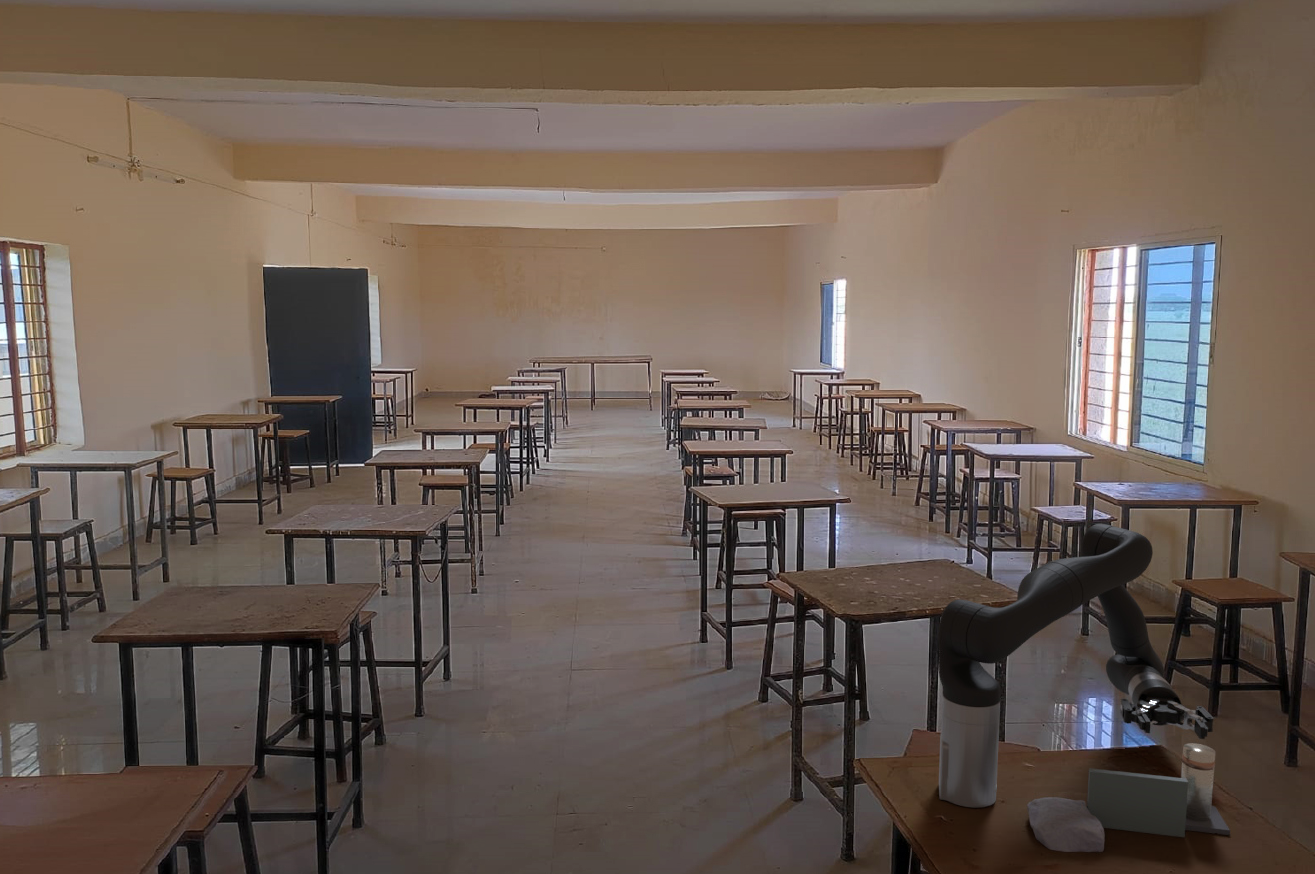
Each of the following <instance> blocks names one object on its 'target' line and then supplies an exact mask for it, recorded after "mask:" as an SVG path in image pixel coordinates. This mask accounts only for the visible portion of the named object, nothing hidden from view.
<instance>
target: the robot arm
mask: <svg viewBox="0 0 1315 874" xmlns="http://www.w3.org/2000/svg"><path fill="white" fill-rule="evenodd" d="M1080 555H1081V556H1078V557H1077V556H1075V557H1066V558H1059V559H1055V560H1051V561H1048V562H1047V563H1044V564H1043V565H1040V566H1039V567H1036V568H1035V569H1033V570H1032V571H1030V572H1029V573H1027V574H1026V575H1025V576H1024V577H1023V578H1022V579H1021V581H1020V583H1019V586H1018V590H1017V600H1016V601H1014V602H1012V603H1010V604H1008V605H1006V606H1002V607H992V606H989V605H985V604H981V603H978V602H974V601H971V600H966V599H960V598H959V599H955V600H952V601H951V602H949V603H948V604H947V605H946V606H945V607H944V610H943V611H942V613H941V616H940V620H939V624H938V625H939V626H938V633H937V634H938V638H937V639H938V641H937V642H938V643H937V644H938V646H937V647H938V648H937V649H938V675H939V676H938V677H939V680H940V683H941V686H942V700H941V702H942V703H941V729H940V730H941V731H940V737H939V739H940V740H939V764H938V765H939V766H938V795H939V800H942V801H947V802H949V803H952V804H954V805H957V806H960V807H966V808H977V809H978V808H986V807H990V806H992V805H994V804H995V802H997V801H996V800H997V790H998V786H997V784H998V781H997V780H998V761H999V760H998V759H999V758H998V757H999V735H1000V714H1001V713H1000V712H1001V686H1000V683H999V682H998V680H996V678H994V677H993V676H992V675H991V674H990V673H989V672H988V671H987V670H986V669H985V668H984V667H983V665H982V664H988V665H989V664H991V665H992V664H998V663H999V662H1001V661H1003V660H1005V659H1006V658H1007V657H1009V656H1010V655H1012V653H1014V652H1015V651H1016V650H1018V649H1019V648H1020V647H1022V645H1023V644H1025V643H1026V642H1027V641H1028V640H1030V638H1032V637H1033V636H1034V635H1036V634H1038V633H1039V632H1041V631H1042V630H1043V629H1045V628H1046V627H1048V626H1050V625H1051V624H1052V623H1054V622H1056V621H1058V620H1060V619H1062V618H1063V617H1065V616H1067V615H1069V614H1070V613H1072V612H1073V611H1075V610H1078V608H1080V607H1082V605H1085V604H1086V603H1088V602H1089V601H1091V600H1093V599H1095V598H1097V599H1098V600H1099V602H1100V605H1101V607H1102V610H1103V613H1104V616H1105V621H1106V625H1107V630H1108V636H1109V641H1110V645H1111V648H1112V649H1113V651H1114V652H1115V653H1116V654H1114V655H1112V656H1110V657H1109V658H1108V660H1107V661H1106V664H1105V671H1106V675H1107V678H1108V679H1109V681H1110V683H1111V684H1112V685H1113V686H1114V688H1116V689H1117V690H1118V691H1120V692H1121V693H1123V694H1126V695H1127V696H1129V698H1130V701H1129V699H1126V698H1121V699H1120V710H1119V711H1120V715H1121V718H1122V720H1123V722H1124V723H1125V724H1128V725H1129V724H1132V723H1135V725H1136V726H1138V728H1139V730H1142V731H1143V732H1144V734H1150V733H1151V725H1154V726H1159V727H1160V726H1167V725H1171V726H1175V727H1178V728H1180V729H1183V730H1191V731H1194V734H1196V736H1197V737H1198V739H1199V740H1205V738H1208V735H1209V734H1208V733H1213V731H1214V728H1213V727H1214V717H1213V716H1212V714H1211V713H1209V711H1207V710H1206V708H1205V707H1203V706H1202V705H1201V706H1200V705H1197V706H1196V708H1195V709H1189V708H1188V707H1187V706H1185V705H1183V703H1182V701H1181V699H1180V696H1179V695H1178V693H1176V691H1175V690H1174V688H1173V687H1172V686H1171V684H1170V683H1169V682H1168V681H1167V680H1166V679H1165V678H1164V677H1165V667H1164V664H1163V662H1162V660H1161V658H1160V656H1159V655H1158V654H1157V652H1156V651H1155V649H1154V647H1153V645H1152V644H1151V641H1150V639H1149V637H1150V636H1149V634H1148V627H1147V620H1146V618H1145V615H1144V611H1143V610H1142V609H1141V607H1140V605H1139V604H1138V603H1137V601H1136V600H1135V598H1134V597H1133V596H1132V594H1131V593H1130V592H1129V591H1128V589H1126V587H1125V586H1124V585H1125V584H1128V583H1131V582H1132V581H1134V580H1136V579H1138V578H1140V576H1142V575H1143V573H1145V571H1146V570H1147V568H1148V567H1149V565H1150V563H1151V562H1152V558H1153V546H1152V543H1151V542H1150V539H1148V538H1147V537H1146V536H1145V535H1143V534H1141V533H1139V532H1136V531H1134V530H1131V529H1130V530H1129V529H1126V528H1122V527H1119V526H1113V525H1111V524H1107V523H1106V524H1104V523H1096V524H1094V525H1091V526H1089V528H1088V529H1086V531H1085V532H1084V535H1083V537H1082V540H1081V544H1080ZM1193 720H1194V724H1193Z"/></svg>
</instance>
